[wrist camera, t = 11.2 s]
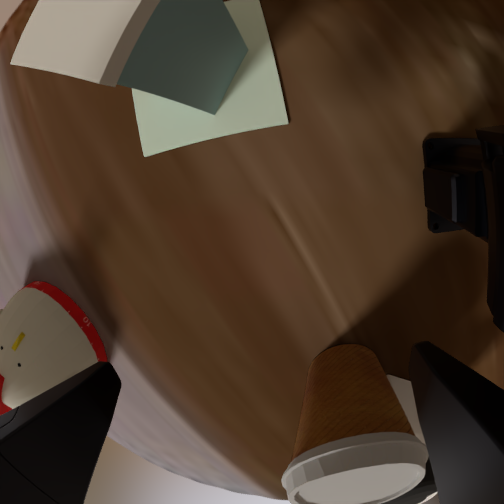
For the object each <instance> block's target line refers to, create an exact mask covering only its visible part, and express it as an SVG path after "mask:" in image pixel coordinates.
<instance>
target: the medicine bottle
mask: <svg viewBox="0 0 504 504" xmlns="http://www.w3.org/2000/svg"><path fill="white" fill-rule="evenodd" d="M386 376H387V378H388V381H389V382H390V384H391V386H392V388H393V390H394V392H395V394H396V397H397V398H398V400H399V402H400V404H401V406H402V408H403V410H404V412H405V414H406V416H407V418H408V421H409V423H410V425H411V427H412V429H413V431H414V434H415V436H416V437H417V438H418V439H419V440H420V441H421V442H422V443H424V444H425V440H424V437H423V433H422V430H421V427H420V423H419V419H418V414H417V409H416V404H415V399H414V394H413V389H412V385H411V381H408V380H405V379H402V378H399V377H395V376H392V375H386ZM425 445H426V444H425ZM437 493H438V492H437V487H436V483H435V479H434V474H433V470H432V466H431V462H430V458H429V457H428V460H427V462H426V470H425V476H424V478H423V479H422V480H421V482H420V483H419V484H418V485H417V486H415V487H414V488H412V489H411V490H410V491H408V492H406V493H404V494H403V495H401V496H399V497H397V498H395V499H392V500H390V501H387V502H384V503H381V504H421V503H423V502H425V501H427V500H429V499H430V498H432V497H433V496H435V495H436V494H437Z"/></svg>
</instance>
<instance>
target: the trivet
mask: <svg viewBox="0 0 504 504" xmlns="http://www.w3.org/2000/svg"><path fill="white" fill-rule="evenodd" d="M224 4H225V6H226V8H227V9H228V11H229V13H230V15H231V17H232V19H233V21H234V23H235V24H236V26H237V28H238V30H239V32H240V34H241V36H242V38H243V40H244V42H245V44H246V46H247V48H248V52H247V54H246V55H245V57H244V59H243V61H242V63H241V64H240V66H239V68H238V70H237V72H236V74H235V76H234V78H233V79H232V81H231V83H230V85H229V87H228V89H227V91H226V93H225V95H224V97H223V99H222V101H221V103H220V105H219V107H218V109H217V111H216V113H215V115H212V114H210V113H207V112H204V111H202V110H199V109H196V108H193V107H191V106H188V105H185V104H182V103H179V102H176V101H173V100H170V99H167V98H164V97H160V96H157V95H154V94H151V93H147V92H144V91H141V90H137V89H133V88H132V94H133V100H134V106H135V112H136V118H137V123H138V129H139V134H140V139H141V144H142V149H143V154H144V157H147V156H150V155H154V154H157V153H160V152H164V151H167V150H171V149H174V148H178V147H181V146H185V145H189V144H193V143H197V142H201V141H205V140H209V139H213V138H217V137H222V136H226V135H231V134H236V133H240V132H245V131H250V130H256V129H261V128H266V127H272V126H278V125H284V124H288V119H287V114H286V109H285V104H284V99H283V94H282V90H281V85H280V81H279V76H278V72H277V68H276V63H275V59H274V55H273V51H272V47H271V43H270V39H269V35H268V31H267V27H266V23H265V20H264V16H263V12H262V9H261V5H260V1H259V0H230V1H226V2H224Z"/></svg>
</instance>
